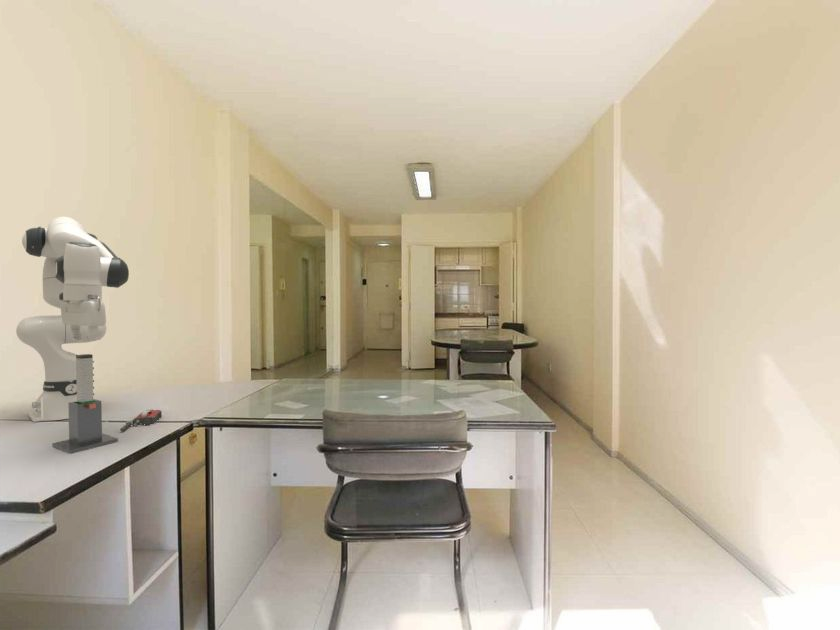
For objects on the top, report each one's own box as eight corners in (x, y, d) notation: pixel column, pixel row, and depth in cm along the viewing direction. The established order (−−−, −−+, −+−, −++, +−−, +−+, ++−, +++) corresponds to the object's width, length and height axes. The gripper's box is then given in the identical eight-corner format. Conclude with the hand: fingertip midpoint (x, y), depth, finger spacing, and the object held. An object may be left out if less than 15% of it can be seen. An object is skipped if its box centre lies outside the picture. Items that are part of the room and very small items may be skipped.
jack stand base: (52, 446, 120) (51, 403, 120) (99, 435, 130) (99, 395, 130) (69, 453, 114) (69, 408, 114) (118, 441, 125) (117, 400, 124)
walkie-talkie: (136, 419, 152) (117, 434, 133) (136, 407, 151) (117, 421, 133) (163, 416, 155) (148, 431, 136) (163, 405, 155) (148, 418, 136)
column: (76, 420, 122) (75, 355, 121) (90, 417, 125) (89, 353, 124) (81, 421, 120) (80, 355, 120) (95, 419, 123) (94, 354, 123)
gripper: (112, 295, 119) (112, 341, 119) (80, 295, 129) (81, 338, 129) (86, 294, 114) (87, 343, 114) (55, 295, 124) (56, 339, 124)
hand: (83, 340), depth 122 cm, fingers open, 8 cm apart
